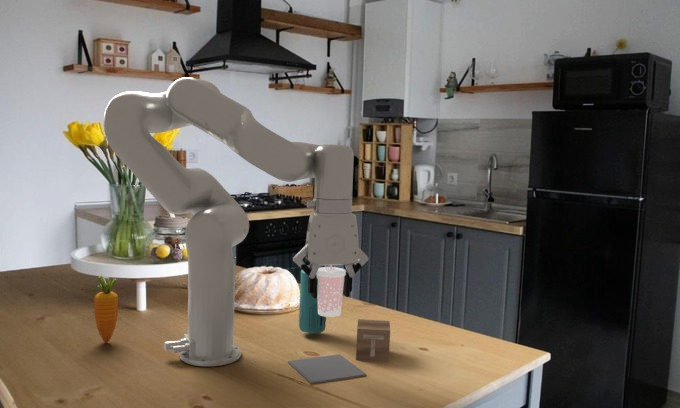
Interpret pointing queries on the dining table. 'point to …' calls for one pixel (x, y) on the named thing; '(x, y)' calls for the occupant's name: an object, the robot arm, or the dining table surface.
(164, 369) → the dining table surface
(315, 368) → the grey mat
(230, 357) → the robot arm
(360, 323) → the letter cube
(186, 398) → the dining table surface
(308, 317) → the beverage bottle
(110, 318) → the carrot
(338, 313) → the beverage cup
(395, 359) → the dining table surface
